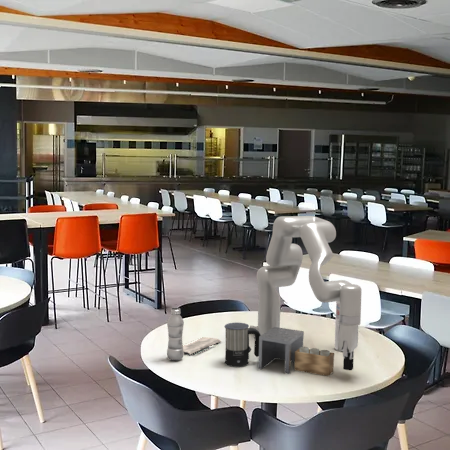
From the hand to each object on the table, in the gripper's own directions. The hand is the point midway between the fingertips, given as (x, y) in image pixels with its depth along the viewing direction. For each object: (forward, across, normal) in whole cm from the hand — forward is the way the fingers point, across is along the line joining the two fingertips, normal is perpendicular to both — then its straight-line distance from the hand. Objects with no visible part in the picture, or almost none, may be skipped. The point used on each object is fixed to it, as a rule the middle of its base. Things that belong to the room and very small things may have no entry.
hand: (348, 369), depth 227 cm
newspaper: (+3, -4, -64) cm, 64 cm away
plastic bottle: (+3, +14, -64) cm, 65 cm away
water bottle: (+3, -31, -11) cm, 33 cm away
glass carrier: (+3, 0, -13) cm, 13 cm away
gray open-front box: (+3, 0, -26) cm, 26 cm away
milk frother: (+3, +2, -43) cm, 43 cm away
